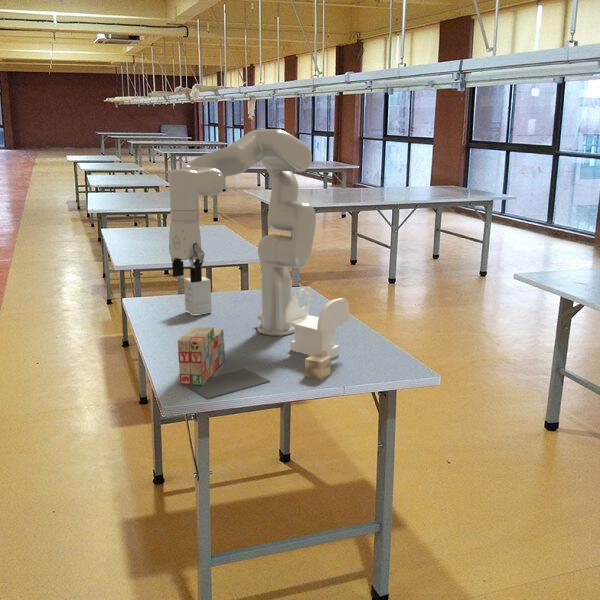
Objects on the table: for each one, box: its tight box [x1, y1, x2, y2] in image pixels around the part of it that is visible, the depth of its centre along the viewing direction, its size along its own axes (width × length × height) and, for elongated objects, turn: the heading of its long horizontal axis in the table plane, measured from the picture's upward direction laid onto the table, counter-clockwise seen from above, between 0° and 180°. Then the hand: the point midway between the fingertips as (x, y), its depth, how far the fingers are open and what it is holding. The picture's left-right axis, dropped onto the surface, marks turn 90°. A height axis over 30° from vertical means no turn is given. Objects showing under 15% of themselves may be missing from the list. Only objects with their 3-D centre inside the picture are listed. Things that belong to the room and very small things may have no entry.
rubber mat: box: [183, 368, 271, 400], centre depth 179 cm, size 12×19×1 cm, turn 129°
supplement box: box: [183, 275, 213, 314], centre depth 244 cm, size 7×7×13 cm
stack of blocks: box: [177, 326, 226, 386], centre depth 186 cm, size 21×6×12 cm, turn 171°
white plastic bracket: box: [284, 288, 350, 360], centre depth 201 cm, size 14×13×18 cm
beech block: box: [304, 354, 331, 380], centre depth 184 cm, size 5×5×5 cm
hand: (187, 278), depth 187 cm, fingers open, 9 cm apart
